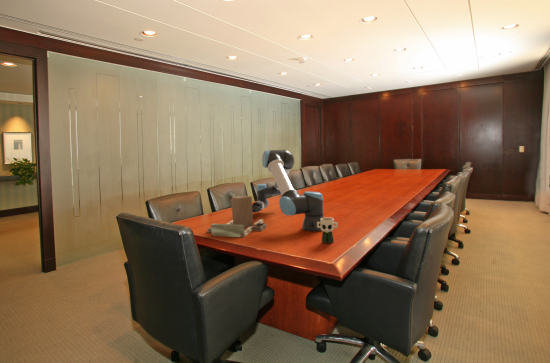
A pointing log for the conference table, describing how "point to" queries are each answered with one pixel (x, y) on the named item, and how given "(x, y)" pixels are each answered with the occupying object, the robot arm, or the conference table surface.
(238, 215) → the wooden block
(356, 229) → the conference table surface
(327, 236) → the character mug
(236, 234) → the tray
